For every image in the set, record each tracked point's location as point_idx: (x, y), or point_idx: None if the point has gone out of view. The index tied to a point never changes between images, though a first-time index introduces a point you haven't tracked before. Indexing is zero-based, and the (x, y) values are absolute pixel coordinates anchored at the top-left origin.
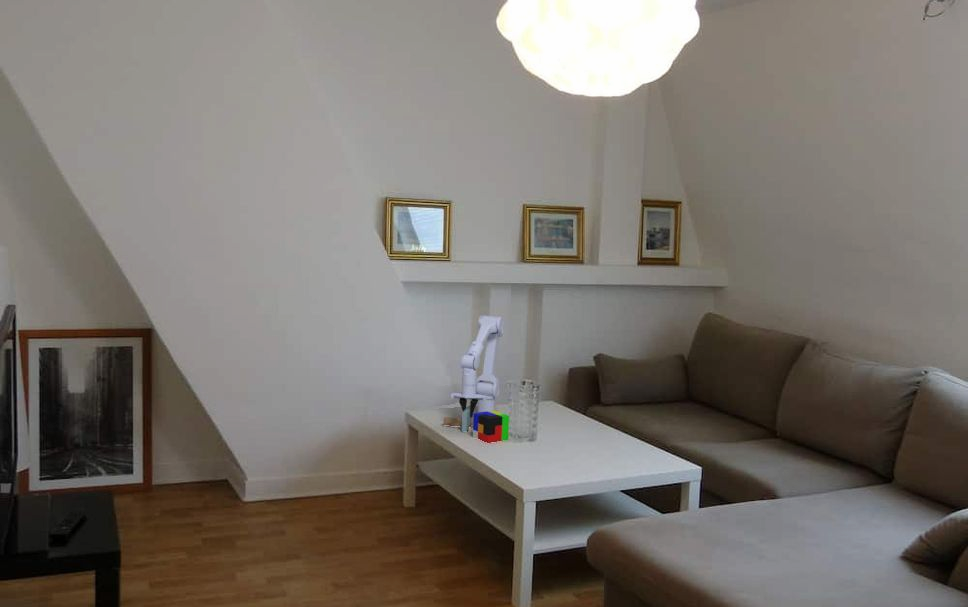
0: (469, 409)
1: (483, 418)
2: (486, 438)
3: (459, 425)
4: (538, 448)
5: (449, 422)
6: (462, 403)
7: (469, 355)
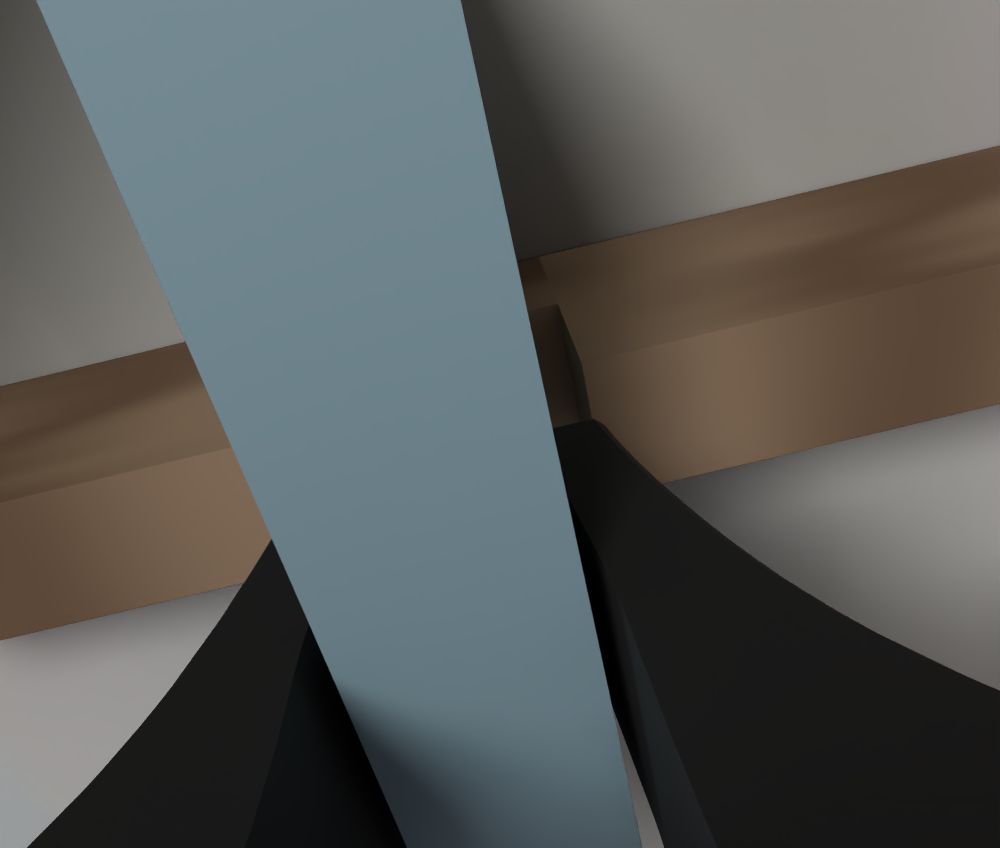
0: (397, 708)
1: None
2: None
3: (658, 254)
4: None
5: (990, 206)
6: (902, 801)
7: None
